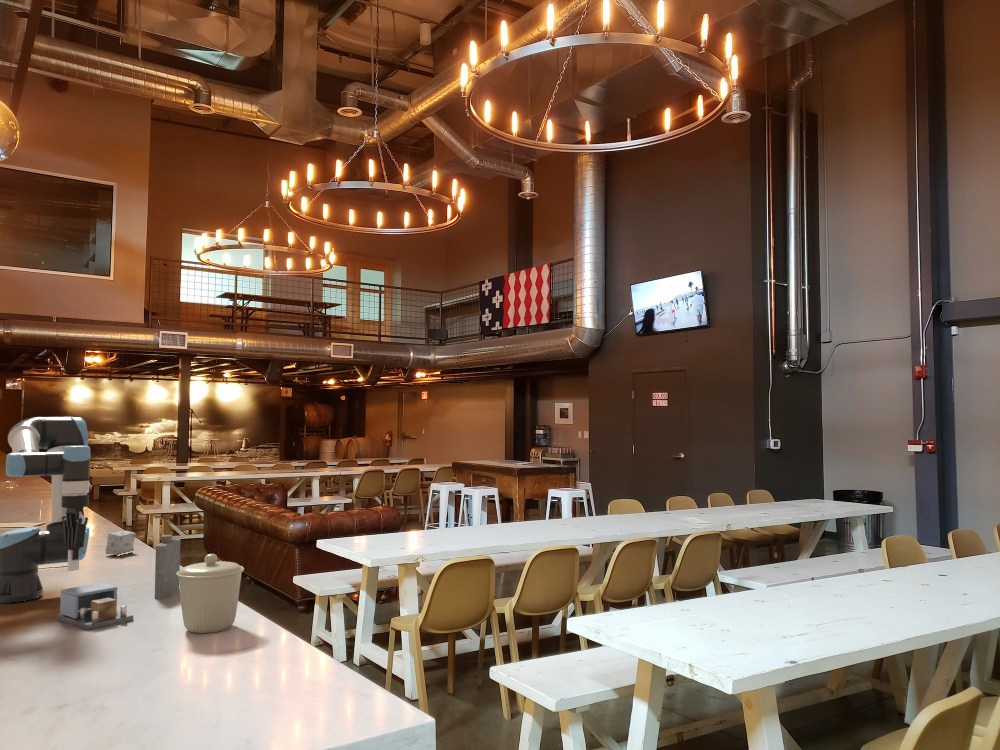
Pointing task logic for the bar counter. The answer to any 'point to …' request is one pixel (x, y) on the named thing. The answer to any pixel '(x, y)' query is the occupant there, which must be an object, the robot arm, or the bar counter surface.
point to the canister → (209, 594)
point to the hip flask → (167, 566)
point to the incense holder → (120, 542)
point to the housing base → (89, 620)
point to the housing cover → (84, 597)
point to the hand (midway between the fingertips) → (73, 570)
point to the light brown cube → (104, 608)
